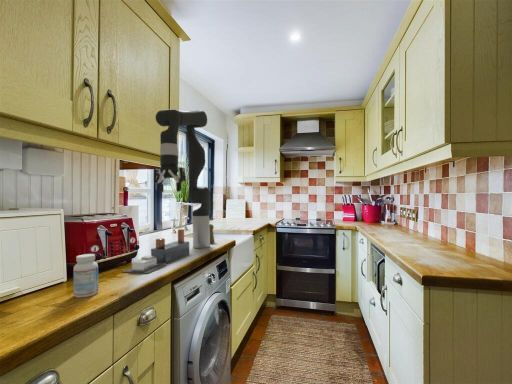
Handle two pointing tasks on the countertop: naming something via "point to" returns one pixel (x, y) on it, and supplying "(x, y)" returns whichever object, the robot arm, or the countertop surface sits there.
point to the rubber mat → (144, 271)
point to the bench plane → (170, 249)
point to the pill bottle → (85, 276)
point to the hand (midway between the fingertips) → (169, 191)
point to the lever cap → (144, 263)
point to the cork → (211, 233)
